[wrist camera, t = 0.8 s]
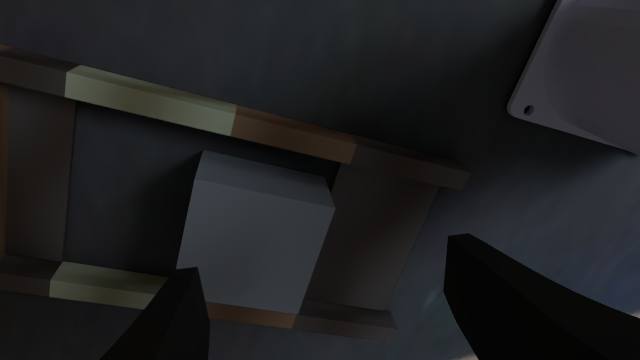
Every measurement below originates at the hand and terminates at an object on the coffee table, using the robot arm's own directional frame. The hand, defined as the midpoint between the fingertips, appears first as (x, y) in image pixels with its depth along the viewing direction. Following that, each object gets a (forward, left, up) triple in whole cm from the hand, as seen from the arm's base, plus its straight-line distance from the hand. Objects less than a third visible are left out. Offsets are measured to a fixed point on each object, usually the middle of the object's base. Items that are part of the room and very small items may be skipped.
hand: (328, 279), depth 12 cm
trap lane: (+2, +4, -10) cm, 11 cm away
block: (+1, +4, -10) cm, 11 cm away
